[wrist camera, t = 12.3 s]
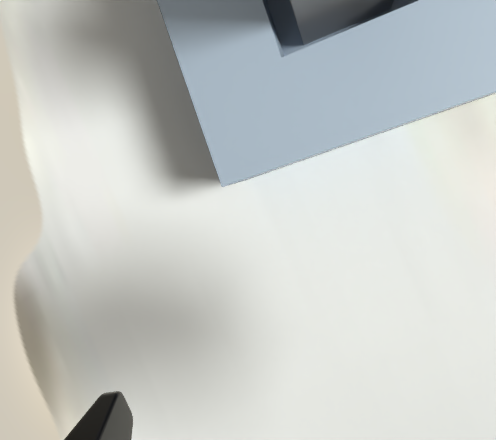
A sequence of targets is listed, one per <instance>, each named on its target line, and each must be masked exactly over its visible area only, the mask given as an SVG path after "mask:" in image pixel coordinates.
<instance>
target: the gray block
mask: <svg viewBox="0 0 496 440" xmlns="http://www.w3.org/2000/svg"><path fill="white" fill-rule="evenodd" d="M393 1H394V0H290V3H291V6H292V10H293V13H294V16H295V19H296V22H297V25H298V28H299V31H300V34H301V38H302V41H303V44H304V45H306V44H308V43H310V42H313V41H315V40H318V39H320V38H322V37H325V36H327V35H329V34H332V33H334V32H337V31H339V30H341V29H344V28H346V27H349V26H351V25H353V24H356V23H358V22H361V21H363V20H365V19H368V18H370V17H373V16H375V15H377V14H380V13H382V12H384V11H387V10H389V9H391V7H392V4H393Z"/></svg>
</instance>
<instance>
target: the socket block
mask: <svg viewBox="0 0 496 440" xmlns="http://www.w3.org/2000/svg"><path fill="white" fill-rule="evenodd" d="M157 2H158V5H159V7H160V10H161V13H162V16H163V19H164V22H165V25H166V28H167V30H168V33H169V36H170V39H171V42H172V45H173V48H174V51H175V53H176V56H177V59H178V62H179V65H180V68H181V71H182V74H183V76H184V79H185V82H186V85H187V88H188V91H189V94H190V97H191V99H192V102H193V105H194V108H195V111H196V114H197V117H198V120H199V122H200V125H201V128H202V131H203V134H204V137H205V140H206V143H207V145H208V148H209V151H210V154H211V157H212V160H213V163H214V166H215V168H216V171H217V174H218V177H219V180H220V183H221V186H222V187H224V186H227V185H231V184H234V183H237V182H241V181H244V180H247V179H250V178H253V177H256V176H259V175H262V174H264V173H267V172H270V171H273V170H276V169H279V168H282V167H285V166H287V165H290V164H293V163H296V162H299V161H302V160H305V159H308V158H310V157H313V156H316V155H319V154H322V153H325V152H328V151H331V150H333V149H336V148H339V147H342V146H345V145H348V144H351V143H354V142H356V141H359V140H362V139H365V138H368V137H371V136H374V135H377V134H379V133H382V132H385V131H388V130H391V129H394V128H397V127H400V126H403V125H405V124H408V123H411V122H414V121H417V120H420V119H423V118H426V117H428V116H431V115H434V114H437V113H440V112H443V111H446V110H449V109H451V108H454V107H457V106H460V105H463V104H466V103H469V102H472V101H474V100H477V99H480V98H483V97H486V96H489V95H492V94H495V93H496V0H394V1H393V4H392V7H391V9H389V10H387V11H384V12H382V13H380V14H377V15H375V16H373V17H370V18H368V19H365V20H363V21H361V22H358V23H356V24H353V25H351V26H349V27H346V28H344V29H341V30H339V31H337V32H334V33H332V34H329V35H327V36H325V37H322V38H320V39H318V40H315V41H313V42H310V43H308V44H306V45H304V44H303V41H302V38H301V34H300V31H299V28H298V25H297V22H296V19H295V16H294V13H293V10H292V6H291V3H290V0H157Z"/></svg>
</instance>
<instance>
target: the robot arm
mask: <svg viewBox="0 0 496 440" xmlns="http://www.w3.org/2000/svg"><path fill="white" fill-rule="evenodd" d="M132 427H133V416H132V413H131V410H130V408H129V406H128V404H127V402H126V400H125V398H124V396H123V394H122V393H121V392H119V391H116V392H108V393H104V394H102V395H101V396H100V397H99V398H98V399H97V400H96V401H95V403H94V404H93V405H92V406H91V408H90V409H89V410H88V411H87V412H86V414H85V415H84V416H83V417H82V419H81V420H80V421H79V422H78V423H77V425H76V426H75V427H74V428H73V430H72V431H71V432H70V433H69V434H68V436H67V437H66V438H65V439H64V440H131V437H132Z"/></svg>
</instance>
